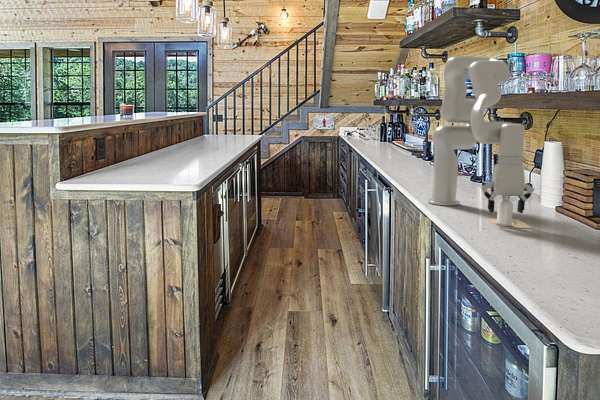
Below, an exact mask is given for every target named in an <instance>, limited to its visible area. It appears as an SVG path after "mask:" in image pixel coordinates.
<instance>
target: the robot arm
mask: <svg viewBox="0 0 600 400" xmlns="http://www.w3.org/2000/svg"><path fill="white" fill-rule="evenodd" d="M510 72H511V71H510V68H509V66H508V64H507V62H505V61H504V60H501V59H496V58H492V57H489V56H474V55H473V56H472V55H455V56H451V57H449V58H448V59H447V60H446V62H445V64H444V69H443V79H444V90H443V97H442V102H441V107H440V108H441V110H440V117H441V119H442V121H444V122H446V123H453V125H452V124H450V125H449V124H444V125H440V126H438V127H436V128H435V129H434V131H433V133H432V134H433V135H432V140H433V150H434V155H433V175H432V193H431V198H428V199H427V203H428V204H432V205H437V206H458V205H460V200H458V199H457V188H458V174H459V173H458V172H459V159H458V155H457V154H456V153H455V150H471V149H473V148H474V147H476V145H477V143H479V144H482V145H498V153H497V154H498V155H497V156H498V157H497V164H496V163H495V164H494V166H493V170H492V174H491V180H490V182H488V183H486V184H484V185H482V186H481V187H480V189H481V191H482V193H483V195H484V196H485V197H486V199H487V201H488V202H487V210H488V211H489V213H494V211H495V203H496V202H495V200H494V199H495V198H496V197H497V196H502V195H510V196H517V197H518V198H519V200H518V201H517V211H516V212H518V213H519V214H523V213H524V210H525V205H526V202H527V200H528V199H529V198H530V197H531V196H532V194H533V192H534V191H535V188H534V187H533V186H531V185H529V184H527V183H526V181H525V177H526V176H525V168H524V165H523V163H526V162H527V158H526V157H524V156H523V152H524V143H525V141H524V140H525V130H526V129H525V125H524V124H522V123H513V122H509V121H486V120H485V118H484V114H483V110H485V109H487V108H490V107H492V106H495V105H496V104H497V103H499V101H500V100H501V98H502V93H501V90H500V85H504V84H506V83H507V82H508V80H509V79H510V76H511V75H510V74H511V73H510ZM465 80H470V84H471V87H472V91H473V94H474V97H475V99H474V98H466V97H467V91H468V86H467V84H466V82H465ZM454 123H457V124H463V125H456V124H454ZM489 188H490V193H489V192H488V189H489ZM525 189H527V192H526V193H525Z"/></svg>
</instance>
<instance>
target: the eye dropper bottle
mask: <svg viewBox="0 0 600 400" xmlns="http://www.w3.org/2000/svg"><path fill="white" fill-rule="evenodd" d="M510 199H511V195H501V199H499V201H498V203H497V213H496V214H497V215H496V219H497V224H499V225H502V226H511V223H512V219H513V209H514V206H513V205H514V203H513V202H512V200H510Z"/></svg>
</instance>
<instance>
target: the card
mask: <svg viewBox="0 0 600 400" xmlns="http://www.w3.org/2000/svg"><path fill="white" fill-rule="evenodd" d="M486 220H487V221H489V222H491V223H492V224H493V225H495V226H496V227H498V228H500V229H527V230H528V229H531V230H532V229H534V227H533V226H531V225H529V224H527V223H525V222H523V221H521V220H520V219H516V218H512V223H511V226H502V225H499V224H497V218H486Z"/></svg>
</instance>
